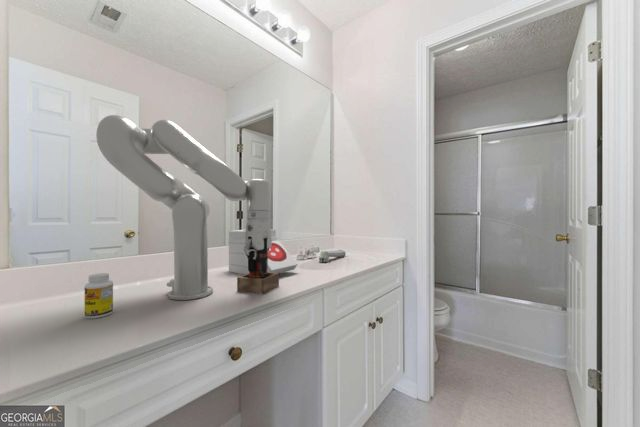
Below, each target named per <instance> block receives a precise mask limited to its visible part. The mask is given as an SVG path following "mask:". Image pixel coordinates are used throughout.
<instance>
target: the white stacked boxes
mask: <svg viewBox="0 0 640 427" xmlns="http://www.w3.org/2000/svg"><path fill="white" fill-rule="evenodd" d="M245 232H246V229H238V230H229V231H228V272H230V273H235V274H239V275H246V274H248V273H249V271H248V259H247V255H246V253H245V252H244V247H245ZM276 232H277V230H276V229H271V239H272V246H271V247H270V248H269V251H268V267H267V272H270V273H279V274H281V273H285V272H289V271H293V270H295V269H296V268H297V266H298V265H299V264H298V263H297V261H296V260H295V258H294V257H292V255H291V254H290V253H289V251H288V250H287V249H286V247H285V246H284V245H283V244H282V242H281V241H280V240H277V236H276V235H277V234H276Z"/></svg>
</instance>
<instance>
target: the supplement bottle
mask: <svg viewBox="0 0 640 427" xmlns="http://www.w3.org/2000/svg"><path fill="white" fill-rule="evenodd" d="M113 311H114V283H113V281H112V280H110V273H108V272H103V273H102V272H101V273H93V274H90V275H88V282H87V283H86V284H84V317H85V319H92V320H93V319H99V318H104V317H107V316H109V315H112V313H113Z"/></svg>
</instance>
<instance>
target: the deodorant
mask: <svg viewBox="0 0 640 427" xmlns="http://www.w3.org/2000/svg"><path fill="white" fill-rule="evenodd" d="M263 240H264V249H263V250H259V251H258V250H257V257H256V259H257V271H256V272H254V271H249V278H259V279H264V278H266V277H267V238H263ZM251 249H254V248H251ZM252 253H253V254H254V252H252Z"/></svg>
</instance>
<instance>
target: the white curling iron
mask: <svg viewBox="0 0 640 427" xmlns="http://www.w3.org/2000/svg"><path fill="white" fill-rule="evenodd" d="M343 257H346V251H345V250H342V249H338V250H328V251H327V250H321V251H320V254H319V256H318V262H319V263H329V259H330V258H343Z"/></svg>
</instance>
